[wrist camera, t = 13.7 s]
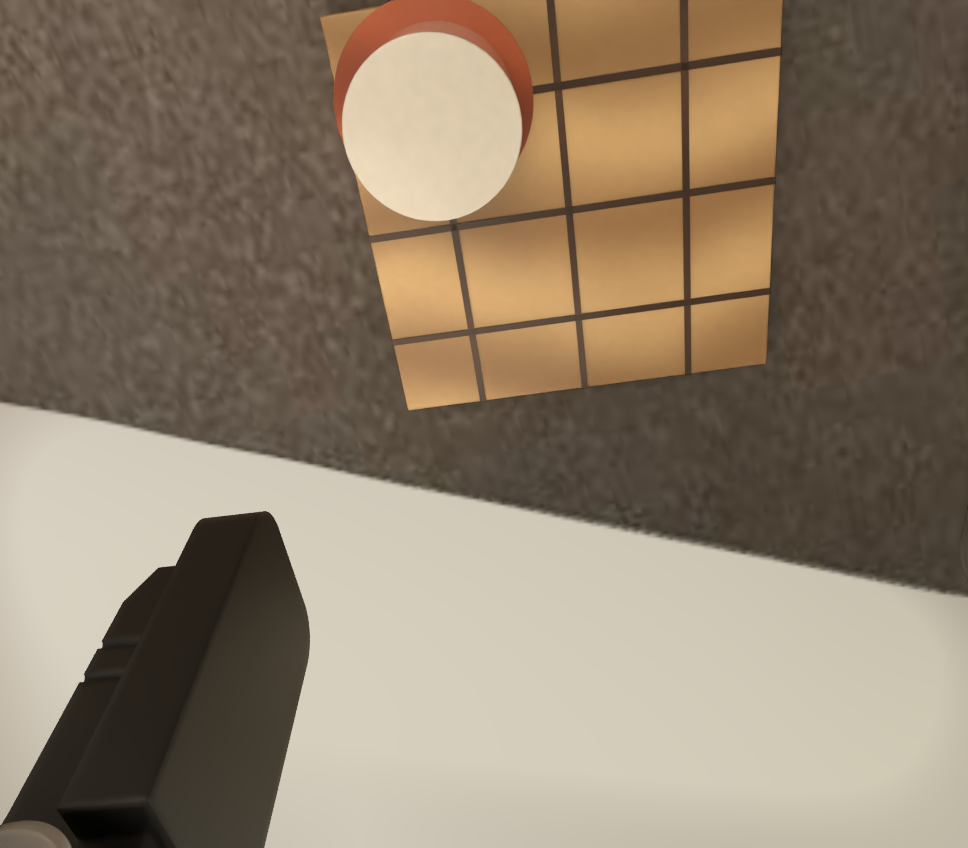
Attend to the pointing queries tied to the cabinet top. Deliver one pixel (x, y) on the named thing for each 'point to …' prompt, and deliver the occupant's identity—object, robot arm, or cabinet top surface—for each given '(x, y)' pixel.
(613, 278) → the board
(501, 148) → the cream short cylinder
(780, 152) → the cabinet top surface
